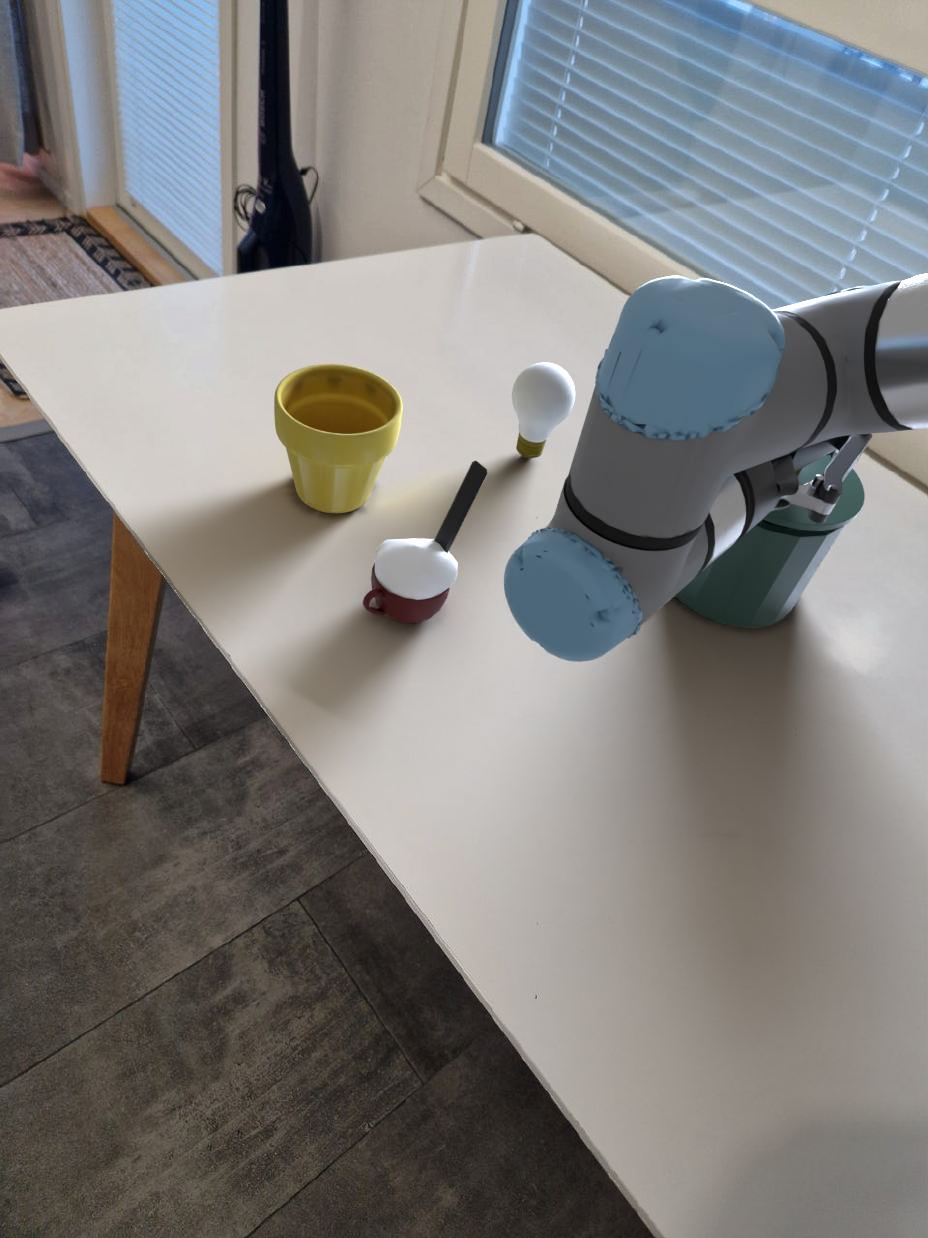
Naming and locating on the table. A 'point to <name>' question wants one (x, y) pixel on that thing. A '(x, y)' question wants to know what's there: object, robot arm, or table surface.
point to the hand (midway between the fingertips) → (843, 384)
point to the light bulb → (540, 405)
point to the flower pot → (336, 432)
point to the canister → (759, 575)
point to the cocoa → (421, 563)
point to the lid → (841, 511)
